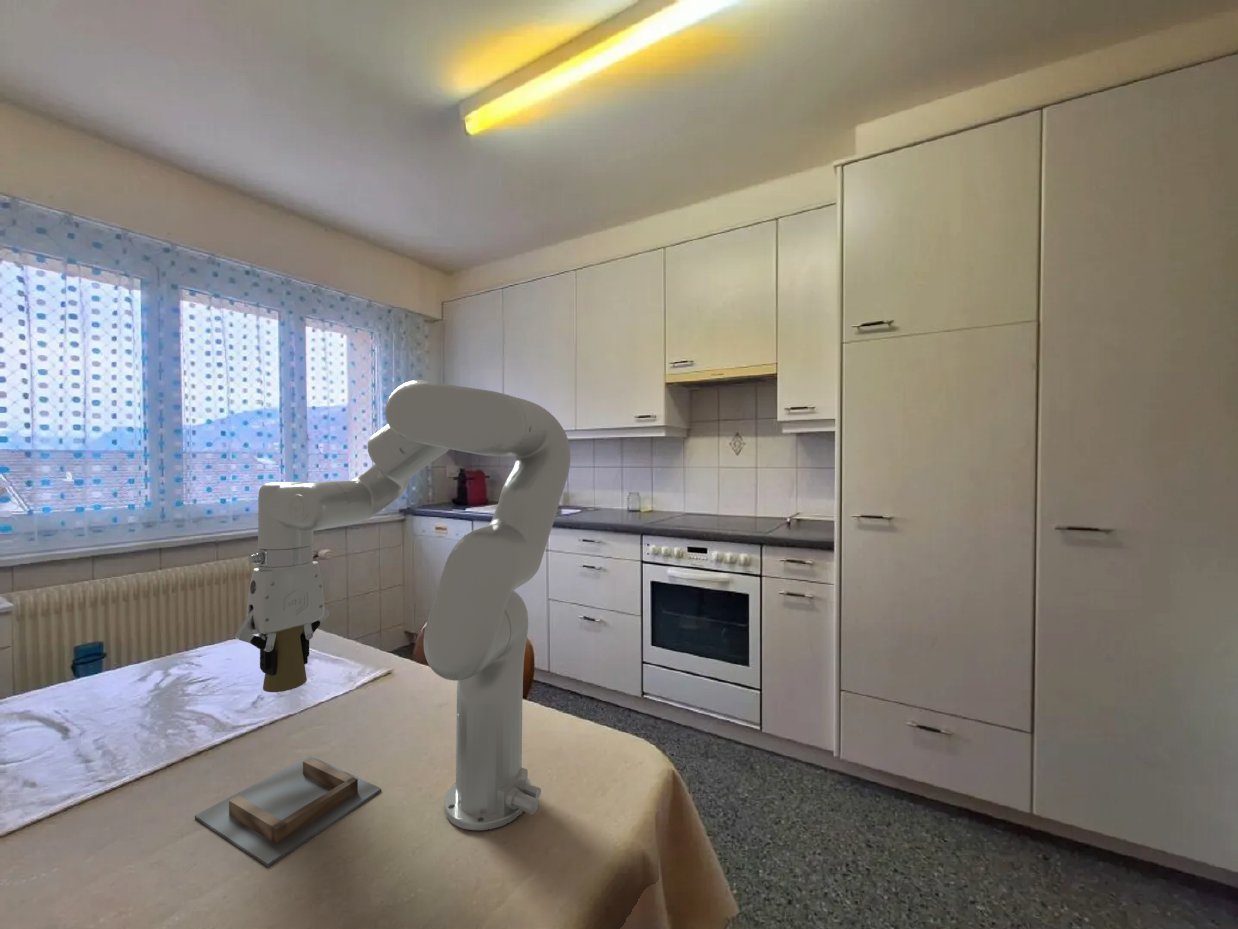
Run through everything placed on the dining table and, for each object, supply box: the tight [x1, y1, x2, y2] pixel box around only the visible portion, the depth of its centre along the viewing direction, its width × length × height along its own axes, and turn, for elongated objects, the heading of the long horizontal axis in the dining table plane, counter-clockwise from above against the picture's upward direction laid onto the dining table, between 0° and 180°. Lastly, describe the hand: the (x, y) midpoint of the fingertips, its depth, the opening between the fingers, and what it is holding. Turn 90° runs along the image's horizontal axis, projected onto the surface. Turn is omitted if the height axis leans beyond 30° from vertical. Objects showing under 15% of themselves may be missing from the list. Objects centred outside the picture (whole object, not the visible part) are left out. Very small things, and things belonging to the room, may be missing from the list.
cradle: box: [194, 755, 382, 868], centre depth 73 cm, size 18×16×2 cm
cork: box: [262, 625, 308, 693], centre depth 81 cm, size 6×6×11 cm
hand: (285, 666), depth 81 cm, fingers closed on cork, 4 cm apart
